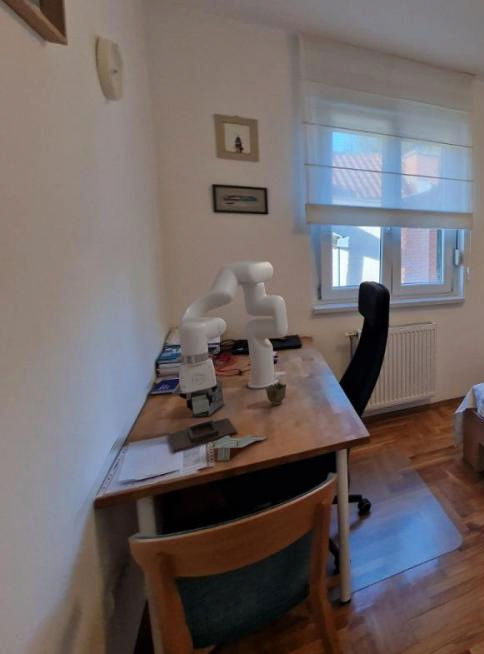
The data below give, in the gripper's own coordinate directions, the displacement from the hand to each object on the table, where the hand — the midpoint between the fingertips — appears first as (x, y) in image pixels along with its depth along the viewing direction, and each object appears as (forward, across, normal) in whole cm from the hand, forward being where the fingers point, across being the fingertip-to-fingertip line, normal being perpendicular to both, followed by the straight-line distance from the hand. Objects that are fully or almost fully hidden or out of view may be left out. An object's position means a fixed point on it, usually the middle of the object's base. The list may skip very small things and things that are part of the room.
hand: (200, 406), depth 146 cm
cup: (+11, +27, +9) cm, 31 cm away
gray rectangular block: (+1, 0, 0) cm, 1 cm away
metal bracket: (+11, +6, -18) cm, 22 cm away
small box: (+11, +5, +21) cm, 24 cm away
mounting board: (+11, 0, 0) cm, 11 cm away
